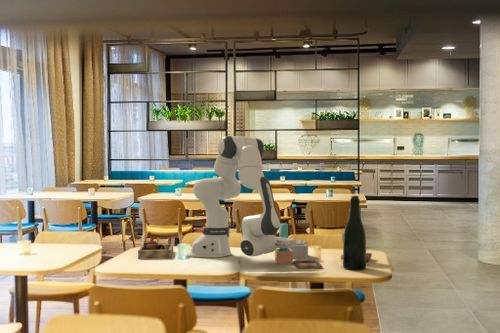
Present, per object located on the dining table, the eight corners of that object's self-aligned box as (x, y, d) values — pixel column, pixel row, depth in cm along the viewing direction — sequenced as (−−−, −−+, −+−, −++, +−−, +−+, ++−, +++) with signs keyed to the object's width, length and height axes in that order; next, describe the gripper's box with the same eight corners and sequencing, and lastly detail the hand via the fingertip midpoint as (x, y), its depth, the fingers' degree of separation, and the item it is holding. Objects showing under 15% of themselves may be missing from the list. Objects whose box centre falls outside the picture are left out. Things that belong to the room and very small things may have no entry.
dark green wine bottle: (338, 267, 284) (338, 195, 283) (357, 265, 288) (358, 194, 287) (351, 271, 275) (351, 197, 273) (370, 269, 279) (371, 196, 278)
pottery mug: (139, 258, 308) (138, 243, 311) (147, 263, 316) (146, 248, 320) (162, 253, 305) (160, 237, 309) (169, 258, 314) (168, 243, 317)
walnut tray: (297, 270, 276) (297, 266, 276) (293, 264, 290) (293, 260, 290) (322, 270, 277) (322, 265, 277) (317, 264, 291) (317, 260, 291)
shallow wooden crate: (138, 258, 305) (138, 250, 305) (142, 252, 323) (142, 244, 323) (170, 258, 306) (170, 250, 306) (173, 251, 324) (173, 244, 324)
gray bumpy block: (286, 260, 301) (286, 242, 301) (287, 255, 314) (287, 238, 314) (307, 260, 300) (307, 242, 300) (308, 255, 313) (308, 238, 312)
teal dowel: (279, 262, 290) (279, 224, 289) (278, 261, 294) (278, 223, 293) (288, 262, 290) (288, 224, 289) (287, 261, 294) (287, 223, 293)
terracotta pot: (276, 265, 288) (276, 251, 288) (274, 262, 295) (274, 248, 295) (292, 265, 288) (292, 251, 288) (290, 262, 296) (290, 248, 296)
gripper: (286, 238, 275) (303, 234, 286) (249, 234, 287) (267, 230, 298) (286, 252, 275) (303, 248, 286) (249, 247, 287) (266, 243, 298)
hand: (284, 239), depth 292 cm, fingers open, 8 cm apart
